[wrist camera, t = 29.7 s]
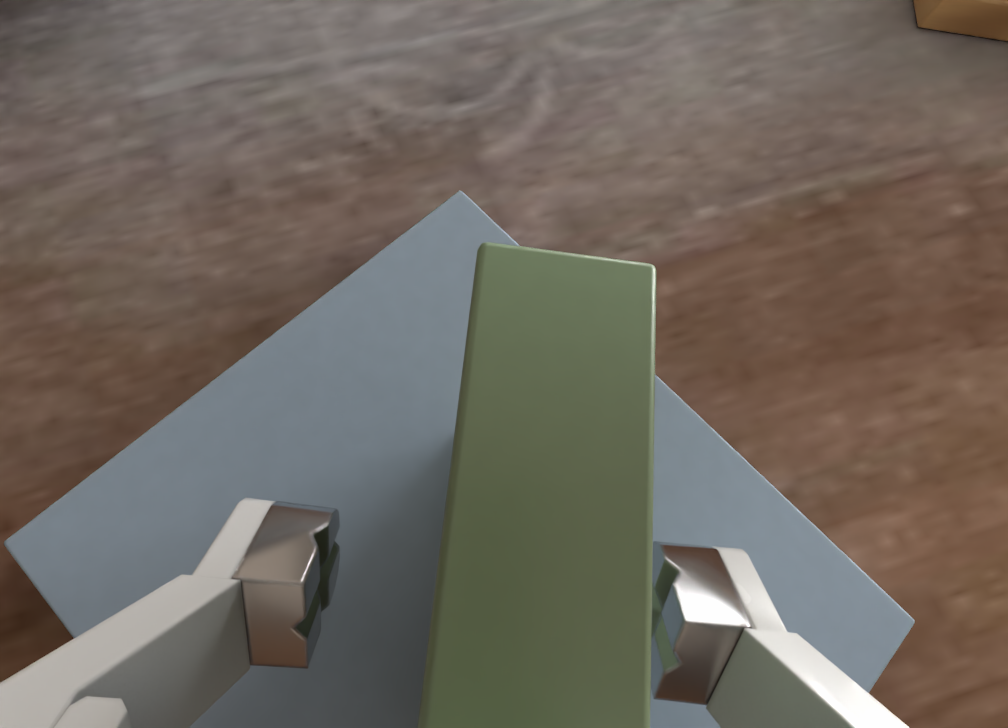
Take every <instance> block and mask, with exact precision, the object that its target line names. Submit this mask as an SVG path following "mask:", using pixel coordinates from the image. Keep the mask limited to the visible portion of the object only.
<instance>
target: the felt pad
mask: <svg viewBox="0 0 1008 728" xmlns="http://www.w3.org/2000/svg"><path fill="white" fill-rule="evenodd" d="M485 242H491V243H499V244H506V245H514V246H519V245H518V244H517V243H516V242H515V241H514V240H513V239H512V238H511V237H510V236H509V235H508V234H507V233H506V232H504V231H503V230H502V229H501V228H500V227H499V226H498V225H497V224H496V223H495V222H494V221H493V220H492V219H491V218H490V217H489V216H488V215H487V214H485V213H484V212H483V211H482V210H481V209H480V208H479V207H478V206H477V205H476V204H475V203H474V202H473V201H472V200H471V199H470V198H469V197H468V196H466V195H465V194H464V193H463V192H462V191H458V192H457V193H456V194H454V195H453V196H452V197H450V198H449V199H448V200H447V201H445V202H444V203H443V204H441V205H440V206H439V207H437V208H436V209H435V210H434V211H432V212H431V213H430V214H428V215H427V216H426V217H424V218H423V219H422V220H421V221H419V222H418V223H417V224H415V225H414V226H413V227H412V228H410V229H409V230H408V231H406V232H405V233H404V234H402V235H401V236H400V237H399V238H397V239H396V240H395V241H393V242H392V243H391V244H389V245H388V246H387V247H386V248H384V249H383V250H382V251H380V252H379V253H378V254H376V255H375V256H374V257H373V258H371V259H370V260H369V261H367V262H366V263H365V264H364V265H362V266H361V267H360V268H358V269H357V270H356V271H354V272H353V273H352V274H351V275H349V276H348V277H347V278H345V279H344V280H343V281H341V282H340V283H339V284H338V285H336V286H335V287H334V288H332V289H331V290H330V291H328V292H327V293H326V294H325V295H323V296H322V297H321V298H319V299H318V300H317V301H315V302H314V303H313V304H312V305H310V306H309V307H308V308H306V309H305V310H304V311H303V312H301V313H300V314H299V315H297V316H296V317H295V318H293V319H292V320H291V321H290V322H288V323H287V324H286V325H284V326H283V327H282V328H280V329H279V330H278V331H277V332H275V333H274V334H273V335H271V336H270V337H269V338H267V339H266V340H265V341H264V342H262V343H261V344H260V345H258V346H257V347H256V348H255V349H253V350H252V351H251V352H249V353H248V354H247V355H245V356H244V357H243V358H242V359H240V360H239V361H238V362H236V363H235V364H234V365H232V366H231V367H230V368H229V369H227V370H226V371H225V372H223V373H222V374H221V375H219V376H218V377H217V378H216V379H214V380H213V381H212V382H210V383H209V384H208V385H207V386H205V387H204V388H203V389H201V390H200V391H199V392H197V393H196V394H195V395H194V396H192V397H191V398H190V399H188V400H187V401H186V402H184V403H183V404H182V405H181V406H179V407H178V408H177V409H175V410H174V411H173V412H171V413H170V414H169V415H168V416H166V417H165V418H164V419H162V420H161V421H160V422H158V423H157V424H156V425H155V426H153V427H152V428H151V429H149V430H148V431H147V432H146V433H144V434H143V435H142V436H140V437H139V438H138V439H136V440H135V441H134V442H133V443H131V444H130V445H129V446H127V447H126V448H125V449H123V450H122V451H121V452H120V453H118V454H117V455H116V456H114V457H113V458H112V459H110V460H109V461H108V462H107V463H105V464H104V465H103V466H101V467H100V468H99V469H98V470H96V471H95V472H94V473H92V474H91V475H90V476H88V477H87V478H86V479H85V480H83V481H82V482H81V483H79V484H78V485H77V486H75V487H74V488H73V489H72V490H70V491H69V492H68V493H66V494H65V495H64V496H62V497H61V498H60V499H59V500H57V501H56V502H55V503H53V504H52V505H51V506H49V507H48V508H47V509H46V510H44V511H43V512H42V513H40V514H39V515H38V516H37V517H35V518H34V519H33V520H31V521H30V522H29V523H27V524H26V525H25V526H24V527H22V528H21V529H20V530H18V531H17V532H16V533H14V534H13V535H12V536H11V537H9V538H8V539H7V540H5V542H4V545H5V547H6V548H7V549H8V551H9V552H10V553H11V555H12V556H13V557H14V559H15V560H16V561H17V563H18V564H19V565H20V567H21V568H22V570H23V571H24V572H25V574H26V575H27V576H28V578H29V579H30V580H31V582H32V583H33V584H34V586H35V587H36V588H37V590H38V591H39V592H40V594H41V595H42V596H43V598H44V599H45V600H46V602H47V603H48V604H49V606H50V607H51V608H52V610H53V611H54V612H55V614H56V615H57V616H58V618H59V619H60V620H61V622H62V623H63V624H64V626H65V627H66V629H67V630H68V631H69V633H70V634H71V635H72V637H73V638H76V637H78V636H79V635H81V634H83V633H84V632H86V631H88V630H89V629H91V628H93V627H94V626H96V625H98V624H99V623H101V622H103V621H104V620H106V619H108V618H109V617H111V616H113V615H114V614H116V613H118V612H119V611H121V610H123V609H124V608H126V607H128V606H129V605H131V604H133V603H134V602H136V601H138V600H139V599H141V598H143V597H145V596H146V595H148V594H150V593H151V592H153V591H155V590H156V589H158V588H160V587H161V586H163V585H165V584H166V583H168V582H170V581H171V580H173V579H175V578H176V577H178V576H180V575H181V574H182V575H192V574H193V572H194V571H195V569H196V567H197V566H198V564H199V563H200V561H201V560H202V558H203V556H204V555H205V553H206V552H207V550H208V549H209V547H210V546H211V544H212V542H213V541H214V539H215V538H216V536H217V535H218V533H219V531H220V530H221V528H222V527H223V525H224V524H225V522H226V521H227V519H228V517H229V516H230V514H231V513H232V511H233V510H234V508H235V506H236V505H237V504H238V503H239V502H240V501H241V500H243V499H244V498H245V497H246V498H253V499H261V500H268V501H275V502H276V501H282V502H290V503H298V504H305V505H313V506H321V507H329V508H337V509H338V511H339V519H340V527H339V530H338V533H337V536H336V539H335V542H336V543H337V544H338V545H339V546H340V560H339V570H338V576H337V580H336V585H335V589H334V593H333V596H332V599H331V602H330V605H329V606H328V607H327V608H326V609H324V610H323V611H322V612H321V632H320V635H319V638H318V641H317V643H316V646H315V649H314V652H313V655H312V658H311V661H310V664H309V667H308V669H304V668H287V667H270V666H253V665H250V670H249V671H248V672H247V673H246V674H245V675H244V676H243V677H241V678H240V679H239V680H238V681H237V682H236V683H235V684H234V685H233V686H232V687H231V688H230V689H229V690H228V691H227V692H226V693H225V694H224V695H223V696H221V697H220V698H219V699H218V700H217V701H216V702H215V703H214V704H213V705H212V706H211V707H210V708H209V709H208V710H207V711H206V712H205V713H204V714H203V715H201V716H200V717H199V718H198V719H197V720H196V721H195V722H194V723H193V724H192V725H191V726H190V727H189V728H417V725H418V717H419V709H420V701H421V693H422V685H423V677H424V669H425V662H426V654H427V646H428V638H429V630H430V622H431V614H432V606H433V598H434V590H435V582H436V574H437V566H438V559H439V551H440V543H441V535H442V527H443V519H444V511H445V503H446V495H447V487H448V479H449V471H450V463H451V456H452V448H453V440H454V432H455V424H456V416H457V408H458V400H459V392H460V384H461V376H462V368H463V360H464V353H465V345H466V337H467V329H468V321H469V313H470V305H471V297H472V289H473V281H474V273H475V265H476V257H477V250H478V248H479V247H480V245H481V244H482V243H485ZM654 541H659V542H669V543H680V544H690V545H701V546H709V547H712V546H715V547H726V548H737V549H742V550H744V551H745V552H746V553H747V554H748V556H749V558H750V560H751V562H752V564H753V566H754V568H755V569H756V571H757V573H758V575H759V577H760V579H761V581H762V583H763V585H764V587H765V589H766V591H767V593H768V595H769V597H770V599H771V601H772V603H773V604H774V606H775V608H776V610H777V612H778V614H779V616H780V618H781V620H782V622H783V624H784V626H785V628H786V630H787V632H790V633H797V634H798V635H800V636H801V637H802V638H803V639H804V640H805V641H807V642H808V643H809V644H810V645H811V646H813V647H814V648H815V649H816V650H817V651H819V652H820V653H821V654H822V655H823V656H825V657H826V658H827V659H828V660H829V661H831V662H832V663H833V664H834V665H835V666H837V667H838V668H839V669H840V670H841V671H842V672H844V673H845V674H846V675H847V676H848V677H850V678H851V679H852V680H853V681H854V682H856V683H857V684H858V685H859V686H860V687H862V688H863V689H864V690H865V691H866V692H868V693H869V692H870V690H871V688H872V687H873V685H874V684H875V682H876V681H877V679H878V678H879V676H880V675H881V673H882V672H883V670H884V669H885V667H886V666H887V664H888V663H889V661H890V660H891V658H892V657H893V655H894V654H895V652H896V651H897V649H898V647H899V646H900V644H901V643H902V641H903V640H904V638H905V637H906V635H907V634H908V632H909V631H910V629H911V628H912V626H913V625H914V622H915V621H914V619H913V618H912V617H911V616H910V615H909V614H908V613H907V612H906V611H905V610H903V609H902V608H901V607H900V606H899V605H898V604H897V603H896V602H895V601H894V600H893V599H892V598H891V597H890V596H889V595H888V594H887V593H886V592H884V591H883V590H882V589H881V588H880V587H879V586H878V585H877V584H876V583H875V582H874V581H873V580H872V579H871V578H870V577H869V576H868V575H867V574H865V573H864V572H863V571H862V570H861V569H860V568H859V567H858V566H857V565H856V564H855V563H854V562H853V561H852V560H851V559H850V558H849V557H848V556H846V555H845V554H844V553H843V552H842V551H841V550H840V549H839V548H838V547H837V546H836V545H835V544H834V543H833V542H832V541H831V540H830V539H829V538H827V537H826V536H825V535H824V534H823V533H822V532H821V531H820V530H819V529H818V528H817V527H816V526H815V525H814V524H813V523H812V522H811V521H810V520H808V519H807V518H806V517H805V516H804V515H803V514H802V513H801V512H800V511H799V510H798V509H797V508H796V507H795V506H794V505H793V504H792V503H791V502H789V501H788V500H787V499H786V498H785V497H784V496H783V495H782V494H781V493H780V492H779V491H778V490H777V489H776V488H775V487H774V486H773V485H772V484H770V483H769V482H768V481H767V480H766V479H765V478H764V477H763V476H762V475H761V474H760V473H759V472H758V471H757V470H756V469H755V468H754V467H753V466H751V465H750V464H749V463H748V462H747V461H746V460H745V459H744V458H743V457H742V456H741V455H740V454H739V453H738V452H737V451H736V450H735V449H734V448H732V447H731V446H730V445H729V444H728V443H727V442H726V441H725V440H724V439H723V438H722V437H721V436H720V435H719V434H718V433H717V432H716V431H715V430H713V429H712V428H711V427H710V426H709V425H708V424H707V423H706V422H705V421H704V420H703V419H702V418H701V417H700V416H699V415H698V414H697V413H696V412H694V411H693V410H692V409H691V408H690V407H689V406H688V405H687V404H686V403H685V402H684V401H683V400H682V399H681V398H680V397H679V396H678V395H677V394H675V393H674V392H673V391H672V390H671V389H670V388H669V387H668V386H667V385H666V384H665V383H664V382H663V381H662V380H661V379H660V378H659V377H658V376H656V375H655V412H654V484H653V542H654ZM706 707H707V705H699V704H691V703H682V702H674V701H665V700H657V699H653V694H652V690H651V700H650V728H721V727H720V726H719V724H718V723H717V722H716V721H715V719H714V718H713V717H712V715H711V714H710V713H709V712H708V710H707V709H706Z"/></svg>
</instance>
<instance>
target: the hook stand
mask: <svg viewBox="0 0 1008 728" xmlns="http://www.w3.org/2000/svg"><path fill="white" fill-rule="evenodd" d="M913 2H914V7H915V13H916V19H917V25H918V27H921V28H927V29H934V30H940V31H946V32H952V33H959V34H965V35H971V36H978V37H984V38H990V39H996V40H1003V41H1008V0H913Z"/></svg>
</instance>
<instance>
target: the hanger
mask: <svg viewBox="0 0 1008 728" xmlns="http://www.w3.org/2000/svg"><path fill="white" fill-rule="evenodd" d="M655 340H656V269H655V266H654V265H652V264H650V263H642V262H635V261H627V260H620V259H612V258H604V257H597V256H589V255H582V254H574V253H567V252H559V251H552V250H544V249H536V248H529V247H521V246H514V245H506V244H499V243H491V242H485V243H482V244H481V245H480V247H479V248H478V250H477V257H476V265H475V273H474V281H473V289H472V297H471V305H470V313H469V321H468V329H467V337H466V345H465V353H464V360H463V368H462V376H461V384H460V392H459V400H458V408H457V416H456V424H455V432H454V440H453V448H452V456H451V463H450V471H449V479H448V487H447V495H446V503H445V511H444V519H443V527H442V535H441V543H440V551H439V559H438V566H437V574H436V582H435V590H434V598H433V606H432V614H431V622H430V630H429V638H428V646H427V654H426V662H425V669H424V677H423V685H422V693H421V701H420V709H419V717H418V725H417V728H650V700H651V628H652V556H653V484H654V412H655Z"/></svg>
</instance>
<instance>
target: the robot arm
mask: <svg viewBox="0 0 1008 728" xmlns="http://www.w3.org/2000/svg"><path fill="white" fill-rule="evenodd" d="M339 527H340V519H339V511H338V509H337V508H329V507H321V506H313V505H305V504H298V503H290V502H282V501H276V502H275V501H268V500H261V499H253V498H246V497H245V498H244V499H243V500H241V501H240V502H239V503H238V504H237V505H236V506H235V508H234V510H233V511H232V513H231V514H230V516H229V517H228V519H227V521H226V522H225V524H224V525H223V527H222V528H221V530H220V531H219V533H218V535H217V536H216V538H215V539H214V541H213V542H212V544H211V546H210V547H209V549H208V550H207V552H206V553H205V555H204V556H203V558H202V560H201V561H200V563H199V564H198V566H197V567H196V569H195V571H194V572H193V574H192V575H182V574H181V575H180V576H178V577H176V578H175V579H173V580H171V581H170V582H168V583H166V584H165V585H163V586H161V587H160V588H158V589H156V590H155V591H153V592H151V593H150V594H148V595H146V596H145V597H143V598H141V599H139V600H138V601H136V602H134V603H133V604H131V605H129V606H128V607H126V608H124V609H123V610H121V611H119V612H118V613H116V614H114V615H113V616H111V617H109V618H108V619H106V620H104V621H103V622H101V623H99V624H98V625H96V626H94V627H93V628H91V629H89V630H88V631H86V632H84V633H83V634H81V635H79V636H78V637H76V638H74V639H73V640H71V641H69V642H68V643H66V644H64V645H63V646H61V647H59V648H57V649H56V650H54V651H52V652H51V653H49V654H47V655H46V656H44V657H42V658H41V659H39V660H37V661H36V662H34V663H32V664H31V665H29V666H27V667H26V668H24V669H22V670H21V671H19V672H17V673H16V674H14V675H12V676H11V677H9V678H7V679H6V680H4V681H2V682H1V683H0V728H189V727H190V726H191V725H192V724H193V723H194V722H195V721H196V720H197V719H198V718H199V717H200V716H201V715H203V714H204V713H205V712H206V711H207V710H208V709H209V708H210V707H211V706H212V705H213V704H214V703H215V702H216V701H217V700H218V699H219V698H220V697H221V696H223V695H224V694H225V693H226V692H227V691H228V690H229V689H230V688H231V687H232V686H233V685H234V684H235V683H236V682H237V681H238V680H239V679H240V678H241V677H243V676H244V675H245V674H246V673H247V672H248V671H249V670H250V665H253V666H270V667H287V668H304V669H308V667H309V664H310V661H311V658H312V655H313V652H314V649H315V646H316V643H317V641H318V638H319V635H320V632H321V612H322V611H323V610H324V609H326V608H327V607H328V606H329V605H330V602H331V599H332V596H333V593H334V589H335V585H336V580H337V576H338V570H339V560H340V546H339V545H338V544H337V543H336V542H335V539H336V536H337V533H338V530H339ZM651 690H652V694H653V699H657V700H665V701H674V702H682V703H691V704H699V705H707V707H706V709H707V710H708V712H709V713H710V714H711V715H712V717H713V718H714V719H715V721H716V722H717V723H718V724H719V726H720V727H721V728H909V727H908V726H907V725H906V724H905V723H903V722H902V721H901V720H900V719H899V718H897V717H896V716H895V715H894V714H893V713H891V712H890V711H889V710H888V709H887V708H885V707H884V706H883V705H882V704H881V703H879V702H878V701H877V700H876V699H875V698H873V697H872V696H871V695H870V694H869V693H868V692H866V691H865V690H864V689H863V688H862V687H860V686H859V685H858V684H857V683H856V682H854V681H853V680H852V679H851V678H850V677H848V676H847V675H846V674H845V673H844V672H842V671H841V670H840V669H839V668H838V667H837V666H835V665H834V664H833V663H832V662H831V661H829V660H828V659H827V658H826V657H825V656H823V655H822V654H821V653H820V652H819V651H817V650H816V649H815V648H814V647H813V646H811V645H810V644H809V643H808V642H807V641H805V640H804V639H803V638H802V637H801V636H800V635H798V634H797V633H790V632H787V630H786V628H785V626H784V624H783V622H782V620H781V618H780V616H779V614H778V612H777V610H776V608H775V606H774V604H773V603H772V601H771V599H770V597H769V595H768V593H767V591H766V589H765V587H764V585H763V583H762V581H761V579H760V577H759V575H758V573H757V571H756V569H755V568H754V566H753V564H752V562H751V560H750V558H749V556H748V554H747V553H746V552H745V551H744V550H742V549H737V548H726V547H715V546H712V547H709V546H701V545H690V544H680V543H669V542H659V541H654V542H653V556H652V628H651Z"/></svg>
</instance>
